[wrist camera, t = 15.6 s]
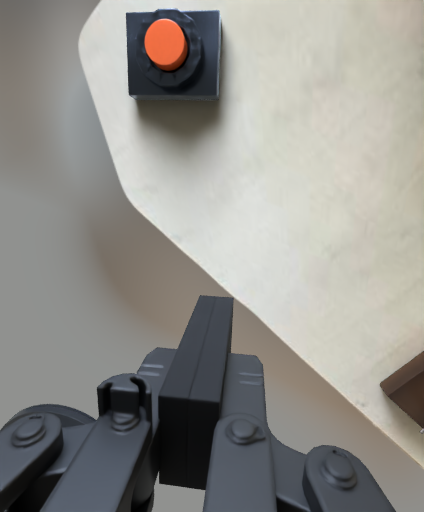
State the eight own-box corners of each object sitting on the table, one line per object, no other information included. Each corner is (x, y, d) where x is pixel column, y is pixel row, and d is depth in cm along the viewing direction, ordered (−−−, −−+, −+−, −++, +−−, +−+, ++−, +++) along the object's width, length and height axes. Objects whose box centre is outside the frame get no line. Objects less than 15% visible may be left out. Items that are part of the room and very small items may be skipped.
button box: (135, 99, 37) (122, 90, 33) (133, 22, 35) (118, 3, 31) (218, 100, 36) (214, 91, 32) (221, 20, 34) (217, 0, 30)
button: (150, 71, 33) (144, 65, 31) (149, 27, 32) (143, 19, 30) (187, 71, 32) (183, 65, 30) (187, 26, 31) (184, 18, 29)
